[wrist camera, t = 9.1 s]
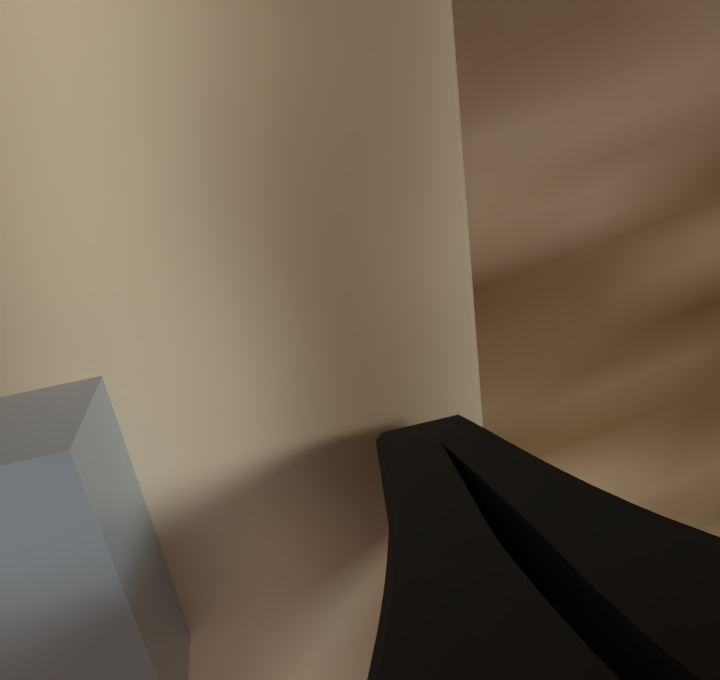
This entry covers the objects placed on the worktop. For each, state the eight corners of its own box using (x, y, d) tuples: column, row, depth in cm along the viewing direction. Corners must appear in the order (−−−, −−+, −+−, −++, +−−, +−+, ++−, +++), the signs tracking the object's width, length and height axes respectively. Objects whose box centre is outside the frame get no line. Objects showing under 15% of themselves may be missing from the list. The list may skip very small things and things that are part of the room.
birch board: (384, -41, 10) (444, -92, 7) (472, 771, 18) (517, 889, 16) (-808, 112, 8) (-1354, 118, 5) (-104, 957, 16) (-170, 1133, 13)
